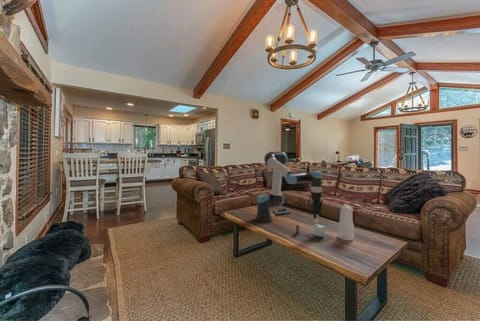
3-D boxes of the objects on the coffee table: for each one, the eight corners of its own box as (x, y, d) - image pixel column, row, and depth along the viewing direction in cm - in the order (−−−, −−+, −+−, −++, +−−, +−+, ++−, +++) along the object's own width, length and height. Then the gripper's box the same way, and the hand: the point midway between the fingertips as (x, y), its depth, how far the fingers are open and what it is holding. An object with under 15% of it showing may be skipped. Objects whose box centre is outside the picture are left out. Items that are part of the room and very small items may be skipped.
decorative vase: (353, 241, 156) (354, 207, 155) (337, 238, 162) (337, 205, 160) (354, 236, 165) (355, 204, 164) (339, 233, 171) (339, 202, 169)
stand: (291, 234, 169) (292, 224, 169) (297, 233, 172) (297, 223, 172) (297, 237, 164) (297, 227, 164) (303, 235, 167) (303, 225, 167)
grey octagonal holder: (311, 232, 167) (311, 224, 167) (322, 231, 167) (322, 224, 167) (315, 236, 159) (315, 228, 159) (326, 236, 159) (326, 228, 159)
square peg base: (305, 236, 165) (305, 225, 165) (317, 232, 172) (317, 221, 172) (320, 243, 153) (320, 231, 153) (333, 239, 160) (333, 227, 160)
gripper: (314, 193, 157) (314, 225, 158) (326, 191, 164) (325, 222, 165) (306, 191, 163) (306, 222, 165) (318, 190, 170) (317, 219, 171)
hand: (316, 222), depth 165 cm, fingers closed
